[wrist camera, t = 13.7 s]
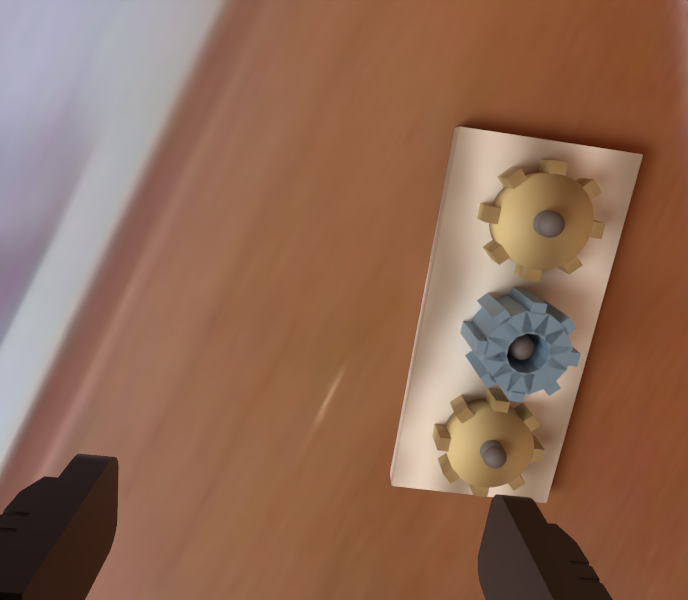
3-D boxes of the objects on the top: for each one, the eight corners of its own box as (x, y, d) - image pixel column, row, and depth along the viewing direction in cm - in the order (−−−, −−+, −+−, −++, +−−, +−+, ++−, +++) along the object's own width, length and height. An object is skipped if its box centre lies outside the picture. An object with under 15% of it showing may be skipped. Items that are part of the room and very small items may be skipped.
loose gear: (452, 370, 38) (465, 395, 35) (471, 281, 37) (487, 296, 33) (542, 382, 39) (566, 407, 35) (565, 293, 37) (592, 310, 33)
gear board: (389, 474, 42) (397, 516, 37) (454, 127, 36) (474, 123, 31) (539, 491, 43) (566, 535, 38) (630, 154, 36) (677, 154, 31)
